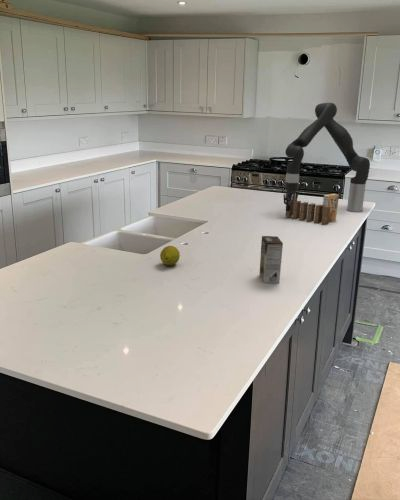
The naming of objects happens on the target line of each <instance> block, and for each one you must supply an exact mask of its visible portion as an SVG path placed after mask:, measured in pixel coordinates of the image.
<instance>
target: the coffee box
mask: <svg viewBox="0 0 400 500" xmlns="http://www.w3.org/2000/svg"><path fill="white" fill-rule="evenodd" d="M283 244H284V242H283V241H282V240H281V239H280V238H279V236H275V235H274V236H272V235H262V236H261V245H260V260H259V272H258V273H259V277H260V279H261V280H262V283H263V284H279V283H280V279H281V270H282V268H281V267H282V258H283V246H284V245H283Z"/></svg>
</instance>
